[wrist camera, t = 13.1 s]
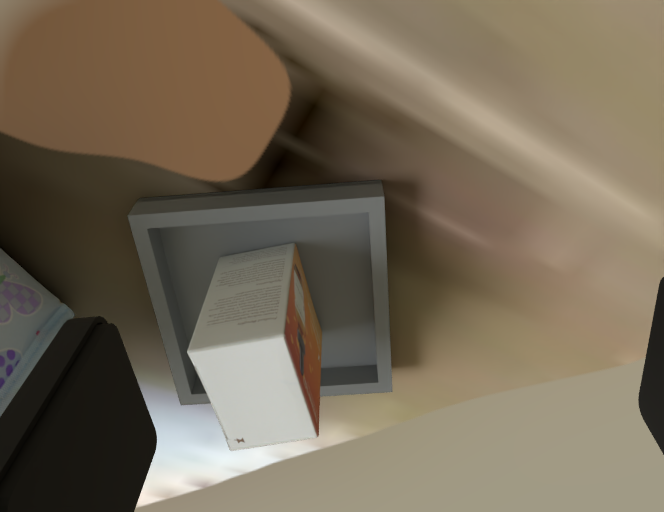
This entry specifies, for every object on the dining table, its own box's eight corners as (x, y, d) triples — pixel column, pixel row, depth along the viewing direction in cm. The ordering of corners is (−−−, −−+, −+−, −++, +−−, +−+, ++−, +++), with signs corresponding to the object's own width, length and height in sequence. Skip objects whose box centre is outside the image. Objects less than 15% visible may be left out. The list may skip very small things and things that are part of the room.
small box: (323, 331, 44) (321, 441, 35) (250, 344, 45) (230, 455, 36) (296, 238, 40) (286, 334, 31) (217, 254, 41) (184, 353, 32)
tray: (381, 179, 39) (384, 196, 37) (389, 368, 47) (392, 392, 45) (138, 198, 39) (127, 215, 37) (187, 381, 47) (180, 405, 45)
